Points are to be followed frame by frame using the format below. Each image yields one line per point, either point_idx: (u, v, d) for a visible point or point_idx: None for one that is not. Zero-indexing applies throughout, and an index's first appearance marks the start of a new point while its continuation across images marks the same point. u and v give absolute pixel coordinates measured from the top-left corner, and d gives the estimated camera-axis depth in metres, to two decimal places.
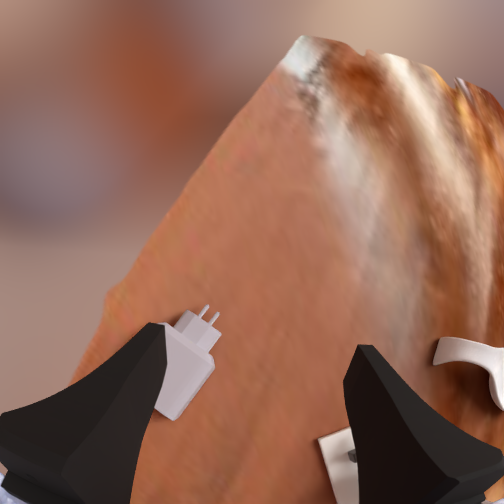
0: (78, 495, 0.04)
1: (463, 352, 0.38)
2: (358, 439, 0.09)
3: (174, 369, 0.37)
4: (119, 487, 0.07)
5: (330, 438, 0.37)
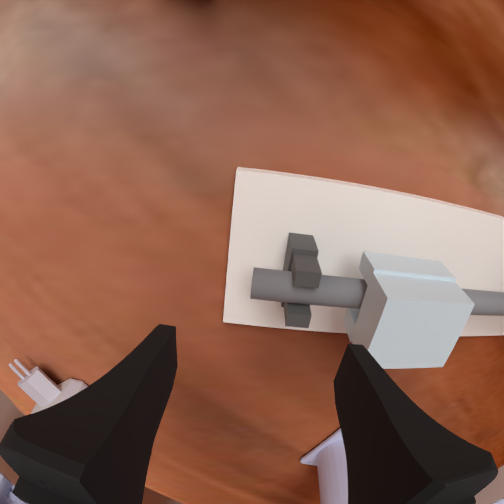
0: (95, 501, 0.04)
1: None
2: (348, 439, 0.09)
3: None
4: (132, 491, 0.07)
5: (230, 304, 0.21)
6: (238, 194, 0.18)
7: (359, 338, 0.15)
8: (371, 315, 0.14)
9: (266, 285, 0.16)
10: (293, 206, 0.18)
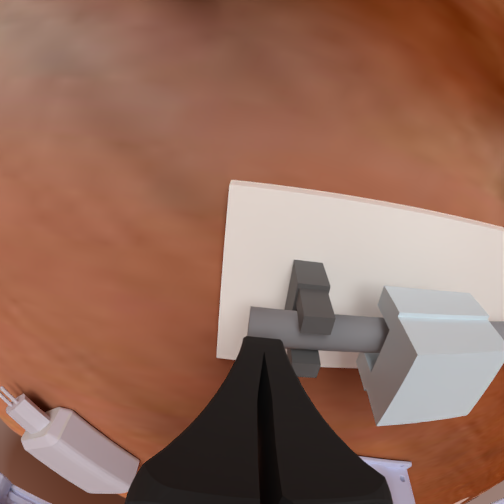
0: None
1: None
2: (258, 438, 0.09)
3: (66, 466, 0.21)
4: None
5: (224, 339, 0.17)
6: (232, 214, 0.14)
7: (376, 390, 0.12)
8: (393, 368, 0.11)
9: (266, 330, 0.12)
10: (299, 228, 0.15)
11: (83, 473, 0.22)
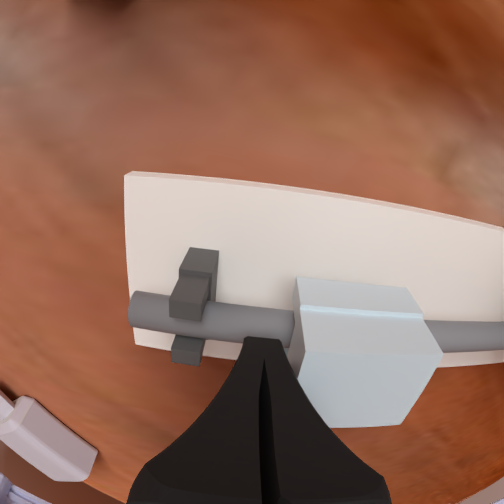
0: None
1: None
2: None
3: (29, 452, 0.22)
4: None
5: None
6: (129, 203, 0.14)
7: None
8: (294, 365, 0.11)
9: (143, 313, 0.12)
10: (191, 216, 0.14)
11: (44, 459, 0.22)
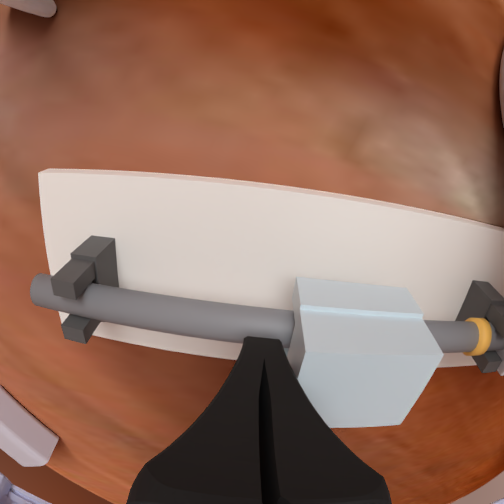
0: None
1: None
2: None
3: None
4: None
5: None
6: (43, 197, 0.14)
7: None
8: (293, 366, 0.11)
9: (40, 292, 0.12)
10: (89, 206, 0.14)
11: (9, 443, 0.22)
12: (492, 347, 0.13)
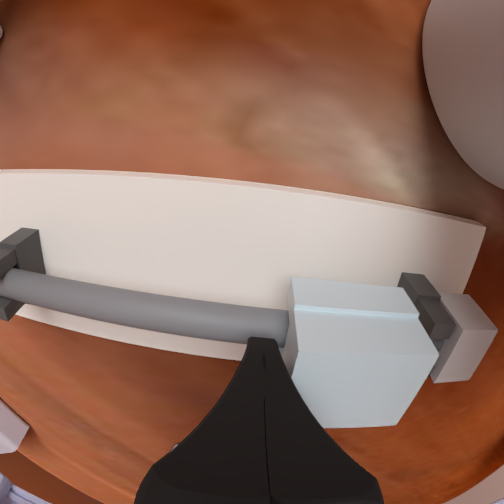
0: None
1: None
2: None
3: None
4: None
5: None
6: None
7: None
8: (287, 365, 0.11)
9: None
10: (18, 201, 0.14)
11: None
12: None
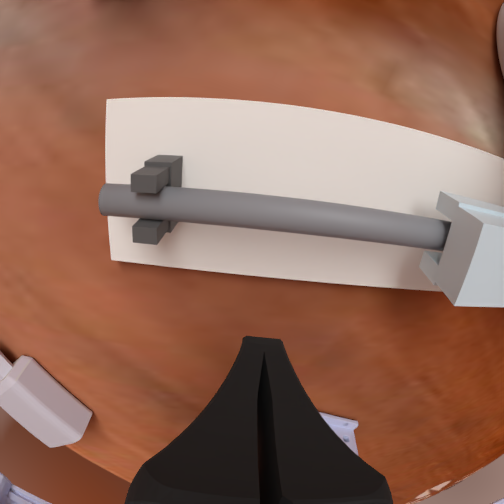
0: None
1: None
2: (258, 438, 0.09)
3: (25, 412, 0.24)
4: None
5: (114, 239, 0.19)
6: (109, 122, 0.16)
7: (448, 276, 0.13)
8: (462, 247, 0.12)
9: (111, 196, 0.14)
10: (159, 127, 0.16)
11: (39, 419, 0.24)
12: None
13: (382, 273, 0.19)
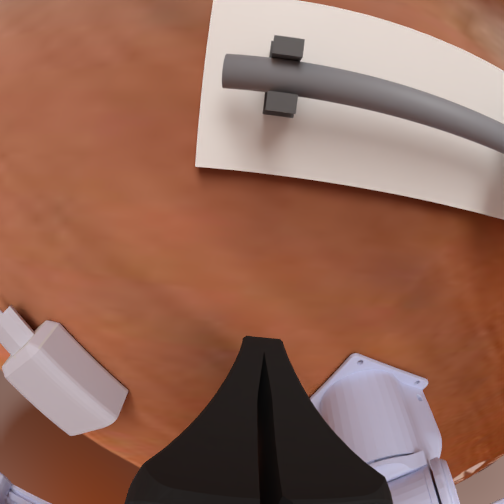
0: None
1: None
2: (258, 438, 0.09)
3: (46, 391, 0.21)
4: None
5: (204, 140, 0.16)
6: (215, 14, 0.13)
7: None
8: None
9: (240, 61, 0.11)
10: (274, 23, 0.14)
11: (64, 399, 0.21)
12: None
13: (473, 195, 0.17)
